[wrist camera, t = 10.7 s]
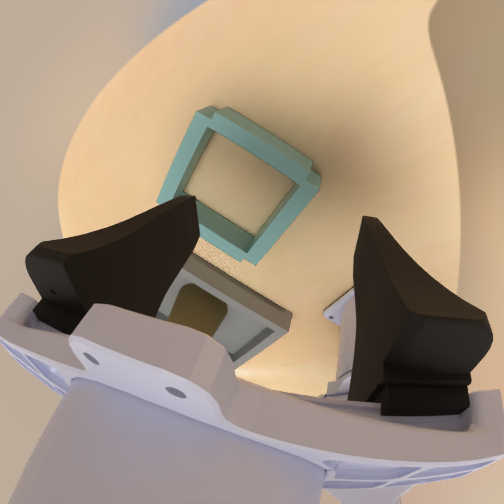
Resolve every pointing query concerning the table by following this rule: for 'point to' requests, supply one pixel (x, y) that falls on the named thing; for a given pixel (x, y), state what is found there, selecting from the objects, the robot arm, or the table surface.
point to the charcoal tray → (232, 310)
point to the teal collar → (262, 147)
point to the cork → (198, 309)
